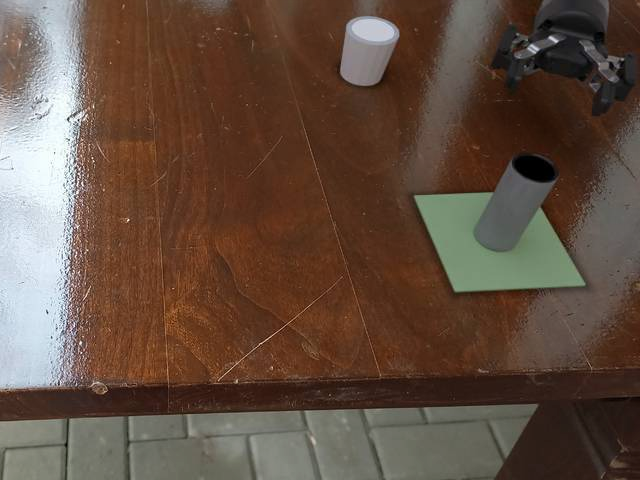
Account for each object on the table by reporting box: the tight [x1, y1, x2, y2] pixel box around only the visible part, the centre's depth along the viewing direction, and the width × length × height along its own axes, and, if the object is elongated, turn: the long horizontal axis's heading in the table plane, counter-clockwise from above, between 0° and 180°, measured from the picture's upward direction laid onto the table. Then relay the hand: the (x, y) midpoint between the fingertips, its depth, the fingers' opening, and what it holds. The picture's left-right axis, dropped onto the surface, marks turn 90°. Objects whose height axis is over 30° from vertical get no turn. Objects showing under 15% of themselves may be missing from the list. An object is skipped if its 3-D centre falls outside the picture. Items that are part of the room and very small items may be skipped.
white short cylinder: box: [339, 15, 400, 87], centre depth 93 cm, size 7×7×7 cm
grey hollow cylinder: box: [474, 151, 560, 252], centre depth 72 cm, size 4×4×10 cm
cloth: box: [413, 191, 586, 294], centre depth 76 cm, size 14×14×1 cm
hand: (556, 98), depth 73 cm, fingers open, 8 cm apart
